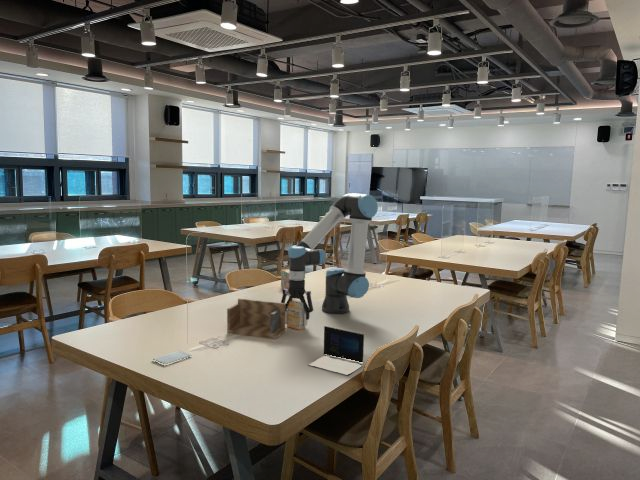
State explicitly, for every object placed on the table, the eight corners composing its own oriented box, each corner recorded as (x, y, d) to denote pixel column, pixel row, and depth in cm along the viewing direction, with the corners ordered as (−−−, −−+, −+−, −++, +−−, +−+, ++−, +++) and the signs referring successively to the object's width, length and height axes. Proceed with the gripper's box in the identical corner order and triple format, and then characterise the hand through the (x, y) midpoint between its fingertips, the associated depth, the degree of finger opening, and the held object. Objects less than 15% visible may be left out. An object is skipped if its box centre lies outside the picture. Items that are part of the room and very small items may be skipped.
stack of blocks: (301, 294, 297) (302, 274, 295) (292, 295, 294) (292, 275, 292) (289, 286, 316) (289, 268, 314) (280, 287, 313) (280, 269, 312)
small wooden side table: (285, 331, 224) (285, 303, 222) (275, 339, 212) (275, 309, 211) (238, 325, 231) (239, 298, 229) (227, 332, 219) (227, 304, 217)
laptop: (307, 366, 184) (307, 333, 182) (323, 356, 194) (324, 325, 193) (348, 377, 174) (349, 343, 173) (363, 366, 185) (364, 334, 183)
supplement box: (286, 326, 230) (286, 300, 229) (292, 324, 234) (293, 298, 232) (299, 330, 225) (299, 303, 224) (305, 328, 229) (306, 301, 227)
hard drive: (165, 364, 179) (191, 354, 189) (152, 358, 184) (178, 349, 194) (165, 368, 179) (191, 358, 189) (152, 362, 184) (178, 353, 194)
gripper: (272, 278, 226) (272, 324, 229) (316, 282, 220) (315, 329, 223) (278, 275, 233) (278, 320, 236) (321, 279, 227) (319, 324, 230)
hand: (296, 324), depth 229 cm, fingers closed on supplement box, 9 cm apart
